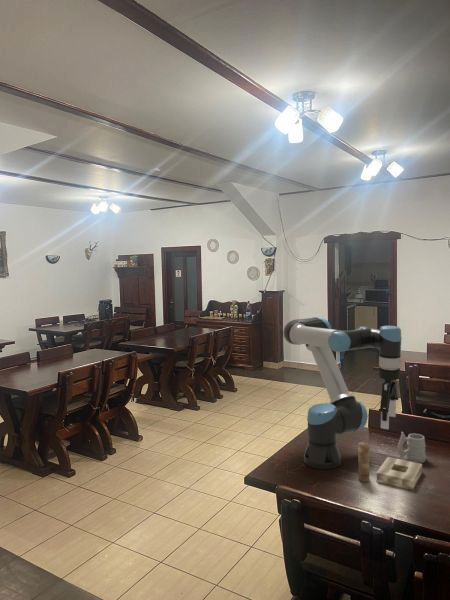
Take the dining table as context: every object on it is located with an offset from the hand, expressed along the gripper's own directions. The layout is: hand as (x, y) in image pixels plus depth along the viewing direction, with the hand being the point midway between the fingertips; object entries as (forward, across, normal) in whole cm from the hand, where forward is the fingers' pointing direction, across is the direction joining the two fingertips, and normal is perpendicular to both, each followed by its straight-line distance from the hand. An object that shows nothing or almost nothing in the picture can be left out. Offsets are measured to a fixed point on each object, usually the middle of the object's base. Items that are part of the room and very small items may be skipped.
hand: (388, 422), depth 172 cm
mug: (+22, +20, -6) cm, 31 cm away
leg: (+22, -6, +7) cm, 24 cm away
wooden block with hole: (+22, +2, -4) cm, 22 cm away
